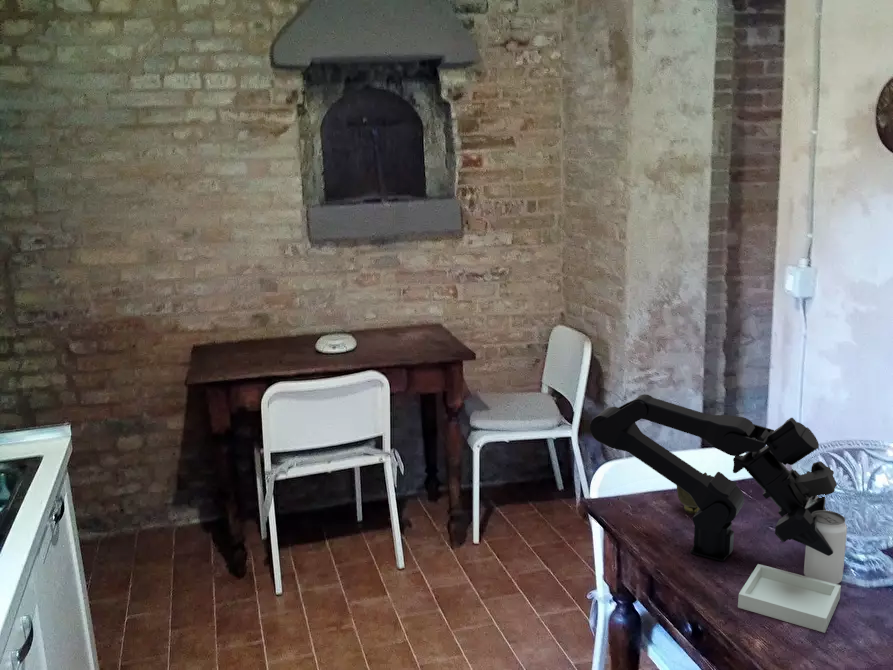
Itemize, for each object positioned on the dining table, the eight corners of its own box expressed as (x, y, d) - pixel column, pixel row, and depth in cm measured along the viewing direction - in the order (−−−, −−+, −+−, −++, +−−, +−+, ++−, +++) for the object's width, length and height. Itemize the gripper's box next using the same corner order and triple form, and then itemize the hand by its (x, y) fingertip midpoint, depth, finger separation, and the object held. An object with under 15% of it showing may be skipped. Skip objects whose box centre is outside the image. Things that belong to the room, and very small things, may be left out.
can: (824, 565, 158) (829, 506, 155) (850, 582, 152) (856, 521, 149) (795, 572, 156) (800, 512, 153) (821, 589, 150) (826, 527, 147)
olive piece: (668, 512, 181) (669, 478, 179) (683, 500, 186) (685, 467, 184) (701, 522, 176) (703, 486, 174) (716, 509, 181) (718, 475, 179)
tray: (737, 607, 145) (738, 593, 144) (757, 576, 154) (758, 563, 154) (824, 632, 137) (826, 618, 136) (839, 598, 147) (840, 585, 146)
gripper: (799, 472, 142) (865, 547, 139) (817, 437, 158) (877, 503, 155) (748, 505, 148) (811, 577, 145) (771, 468, 164) (828, 533, 161)
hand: (834, 546), depth 151 cm, fingers closed on can, 6 cm apart
